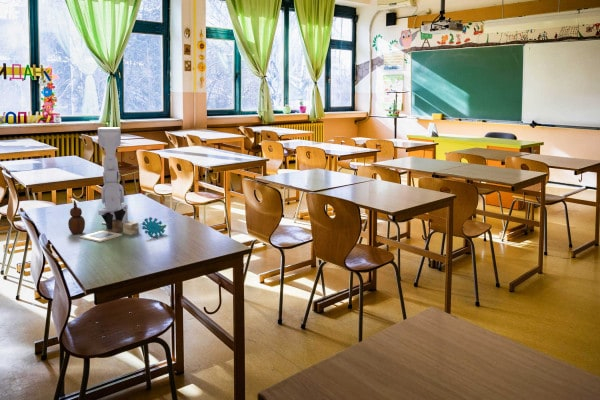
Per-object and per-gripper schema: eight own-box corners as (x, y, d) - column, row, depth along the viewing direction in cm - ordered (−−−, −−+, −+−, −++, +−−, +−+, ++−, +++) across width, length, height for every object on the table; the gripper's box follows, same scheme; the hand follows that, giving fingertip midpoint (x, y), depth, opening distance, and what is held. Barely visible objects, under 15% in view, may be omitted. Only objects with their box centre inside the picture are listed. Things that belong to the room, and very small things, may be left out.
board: (102, 231, 243) (102, 229, 242) (122, 235, 237) (122, 233, 237) (79, 237, 232) (79, 236, 232) (99, 242, 227) (99, 240, 226)
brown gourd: (78, 235, 236) (76, 201, 233) (66, 234, 237) (64, 200, 234) (87, 231, 242) (85, 198, 239) (76, 230, 243) (73, 197, 240)
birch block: (131, 231, 244) (130, 221, 243) (138, 232, 242) (138, 222, 241) (123, 233, 240) (122, 223, 239) (131, 235, 238) (130, 224, 237)
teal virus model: (146, 236, 230) (140, 216, 234) (141, 244, 234) (135, 224, 238) (170, 235, 237) (164, 216, 242) (165, 242, 241) (158, 223, 245)
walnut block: (114, 229, 246) (114, 219, 245) (122, 230, 244) (121, 220, 243) (106, 231, 242) (106, 221, 241) (114, 233, 240) (113, 222, 239)
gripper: (105, 201, 232) (107, 232, 235) (131, 195, 244) (133, 225, 247) (94, 199, 235) (96, 230, 238) (120, 193, 248) (122, 223, 251)
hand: (114, 227), depth 243 cm, fingers closed on walnut block, 4 cm apart
